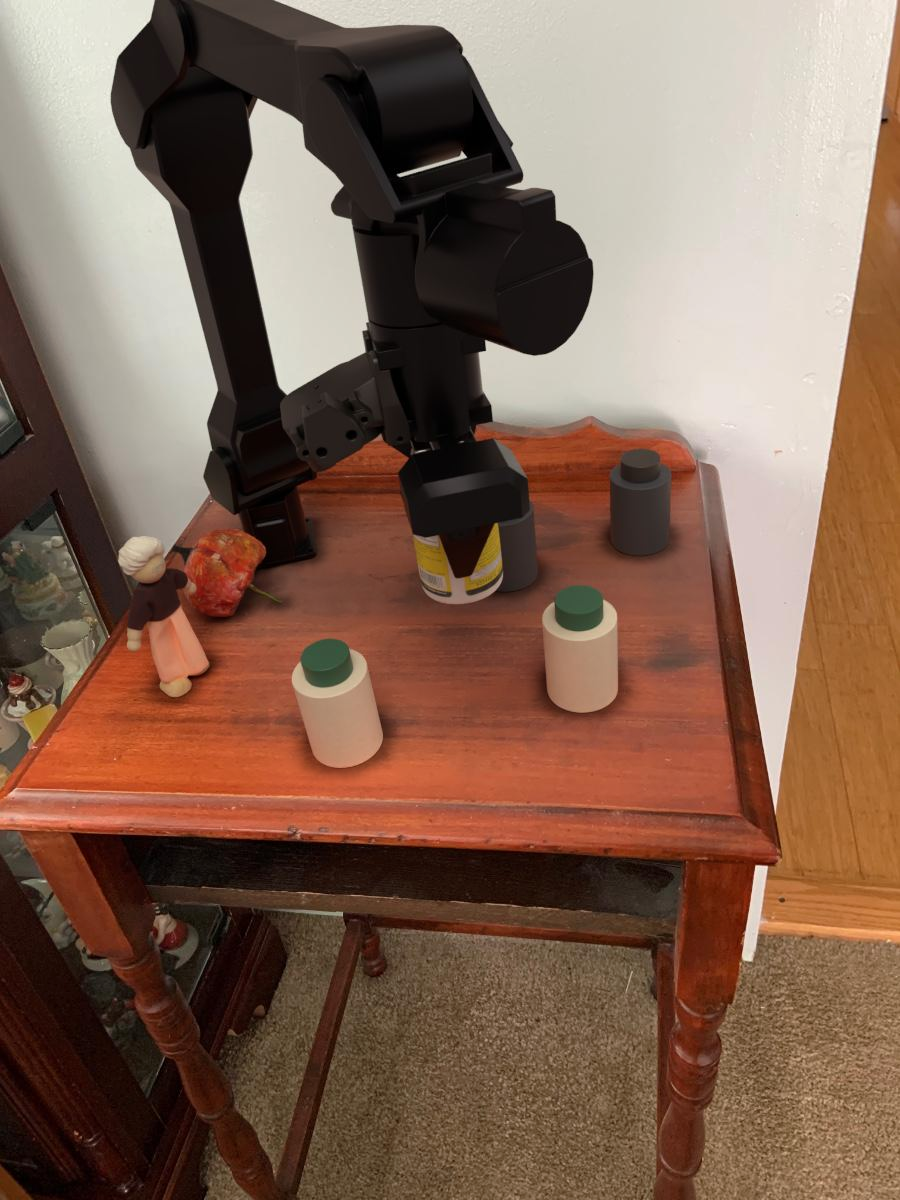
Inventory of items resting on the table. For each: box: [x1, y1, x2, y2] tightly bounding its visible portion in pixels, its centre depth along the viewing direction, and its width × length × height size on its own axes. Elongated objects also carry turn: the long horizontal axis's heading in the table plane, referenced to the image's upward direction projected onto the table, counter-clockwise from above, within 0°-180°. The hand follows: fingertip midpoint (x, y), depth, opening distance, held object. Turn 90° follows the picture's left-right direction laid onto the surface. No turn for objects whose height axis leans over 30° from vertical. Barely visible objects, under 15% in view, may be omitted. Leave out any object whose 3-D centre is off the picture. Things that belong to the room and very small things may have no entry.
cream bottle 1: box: [291, 638, 384, 769], centre depth 61 cm, size 5×5×8 cm
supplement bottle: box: [411, 442, 503, 605], centre depth 56 cm, size 5×5×10 cm
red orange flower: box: [168, 528, 282, 618], centre depth 76 cm, size 7×7×10 cm
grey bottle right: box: [609, 448, 672, 557], centre depth 76 cm, size 5×5×8 cm
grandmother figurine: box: [117, 535, 210, 698], centre depth 68 cm, size 8×4×13 cm, turn 168°
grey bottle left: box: [495, 499, 539, 593], centre depth 75 cm, size 5×5×8 cm
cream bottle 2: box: [541, 584, 619, 714], centre depth 62 cm, size 5×5×8 cm
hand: (453, 551), depth 58 cm, fingers closed on supplement bottle, 5 cm apart
